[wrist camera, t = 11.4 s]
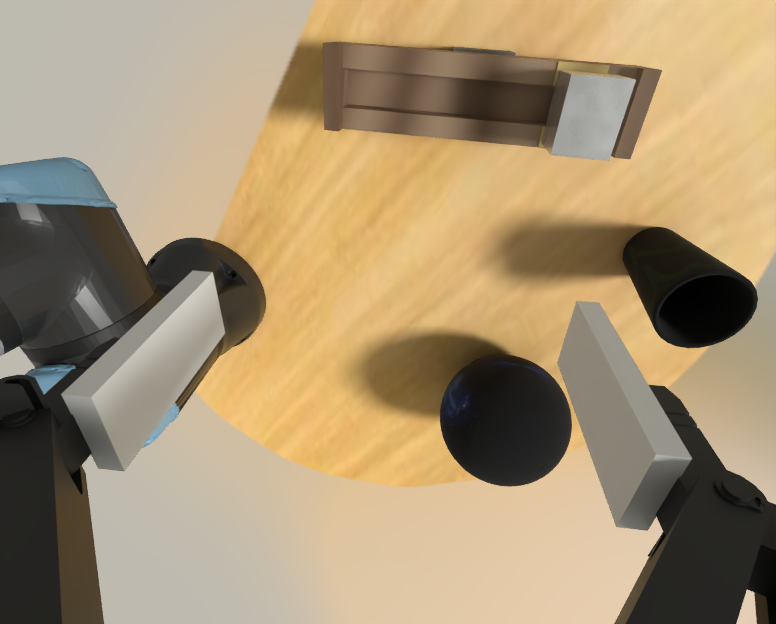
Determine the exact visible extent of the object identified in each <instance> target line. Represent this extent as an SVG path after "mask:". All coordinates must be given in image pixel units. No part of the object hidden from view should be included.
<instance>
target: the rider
mask: <svg viewBox="0 0 776 624" xmlns="http://www.w3.org/2000/svg"><path fill="white" fill-rule="evenodd" d="M635 82H636V79H632V78H628V77H624V76H620V75H616V74H603V73H591V72H579V71H567V70H559V73H558V77H557V81H556V85H555V89H554V92H553V96H552V100H551V104H550V108H549V112H548V116H547V122H546V126H545V130H544V134H543V138H542V142H541V143H542V145H543V146H544V147H545V148H546V150H547V151H548V152H549V154H550V155H556V156H566V157H576V158H587V159H597V160H607V161H609V160H610V157H611V154H612V151H613V148H614V145H615V142H616V139H617V136H618V133H619V130H620V127H621V124H622V121H623V118H624V115H625V112H626V109H627V106H628V103H629V100H630V97H631V94H632V91H633V88H634V85H635Z"/></svg>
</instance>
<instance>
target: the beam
mask: <svg viewBox="0 0 776 624" xmlns="http://www.w3.org/2000/svg"><path fill="white" fill-rule="evenodd" d="M323 70H324V130H331V131H340V130H341V129H353V130H363V131H374V132H384V133H394V134H405V135H415V136H426V137H436V138H447V139H457V140H468V141H478V142H489V143H499V144H510V145H520V146H530V147H538V148H545V147H544V146H543V145H542V143H541V142H542V138H543V134H544V130H545V126H546V122H547V116H548V112H549V108H550V104H551V100H552V96H553V92H554V89H555V85H556V81H557V77H558V73H559V70H567V71H579V72H591V73H603V74H616V75H620V76H624V77H628V78H632V79H636V82H635V85H634V88H633V91H632V94H631V97H630V100H629V103H628V106H627V109H626V112H625V115H624V118H623V121H622V124H621V127H620V130H619V133H618V136H617V139H616V142H615V145H614V148H613V151H612V154H611V156H613V157H614V158H623V159H630V158H631V156H632V153H633V150H634V147H635V144H636V142H637V139H638V136H639V133H640V130H641V128H642V125H643V122H644V119H645V116H646V114H647V111H648V108H649V105H650V103H651V100H652V97H653V94H654V91H655V89H656V86H657V83H658V80H659V77H660V75H661V72H662V70H658V69H653V68H647V67H642V66H636V65H623V64H611V63H598V62H586V61H573V60H561V59H548V58H536V57H523V56H515V53H514V52H511V51H501V50H488V49H476V48H463V47H454V48H453V51H449V50H436V49H424V48H411V47H399V46H386V45H374V44H361V43H349V42H328V43H323Z"/></svg>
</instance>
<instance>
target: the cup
mask: <svg viewBox="0 0 776 624" xmlns="http://www.w3.org/2000/svg"><path fill="white" fill-rule="evenodd" d="M623 262H624V265H625V267H626V269H627V271H628V273H629V276H630V278H631V280H632V282H633V284H634V286H635V288H636V290H637V292H638V295H639V297H640V299H641V301H642V303H643V305H644V307H645V309H646V312H647V314H648V316H649V318H650V320H651V322H652V324H653V326H654V329H655V331H656V332H657V333H658V335H659V336H660V337H661V338H662V339H663V340H665V341H666V342H668V343H670V344H672V345H675V346H678V347H685V348H700V347H705V346H710V345H713V344H716V343H719V342H722V341H724V340H726V339H728V338H730V337H731V336H733V335H735V334H736V333H737V332H738V331H740V330H741V329H742V328H743V327H744V326H745V325H746V324H747V323H748V322H749V320H750V319H751V318H752V316H753V314H754V312H755V310H756V307H757V301H758V297H757V291H756V289H755V287H754V285H753V284H752V282H751V281H749V280H748V279H747V278H746V277H745V276H743V275H741V274H740V273H738V272H737V271H735V270H734V269H732V268H730V267H729V266H727V265H726V264H724V263H722V262H721V261H719V260H718V259H716V258H714V257H713V256H711V255H710V254H708V253H707V252H705V251H703V250H702V249H700V248H699V247H697V246H695V245H694V244H692V243H691V242H689V241H687V240H686V239H684V238H683V237H681V236H680V235H678V234H676V233H675V232H673V231H672V230H669V229H667V228H662V227H654V228H649V229H646V230H643V231H641V232H639V233H637V234H636V235H635V236H633V237H632V238H631V239H630V240H629V242H628V243H627V244H626V246H625V248H624V251H623Z"/></svg>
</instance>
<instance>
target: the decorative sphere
mask: <svg viewBox="0 0 776 624" xmlns="http://www.w3.org/2000/svg"><path fill="white" fill-rule="evenodd" d="M440 424H441V431H442V435H443V438H444V441H445V443H446V445H447V447H448V449H449V451H450V453H451V454H452V456H453V457H454V459H455V460H456V461H457V462H458V463H459V464H460V466H462V467H463V468H464V469H465V470H466V471H467V472H469V473H470V474H471V475H473V476H475V477H476V478H478V479H480V480H482V481H485V482H487V483H491V484H494V485H499V486H520V485H525V484H529V483H532V482H534V481H537V480H538V479H540V478H542V477H544V476H545V475H547V474H548V473H549V472H550V471H552V470H553V469H554V468H555V467H556V465H557V464H558V463H559V462H560V460H561V459H562V457H563V456H564V454H565V452H566V450H567V447H568V444H569V441H570V437H571V430H572V420H571V412H570V408H569V404H568V401H567V399H566V396H565V394H564V392H563V391H562V389H561V387H560V386H559V384H558V383H557V382H556V381H555V379H554V378H553V377H552V376H551V375H550V374H549V373H548V372H546V371H545V370H544V369H543V368H541V367H540V366H538V365H537V364H535V363H533V362H531V361H529V360H526V359H523V358H520V357H516V356H510V355H494V356H488V357H484V358H481V359H478V360H476V361H474V362H472V363H470V364H468V365H467V366H465V367H464V368H463V369H462V370H460V371H459V372H458V373H457V374H456V375H455V377H454V378H453V379H452V380H451V382H450V383H449V385H448V387H447V389H446V391H445V393H444V396H443V399H442V403H441V409H440Z"/></svg>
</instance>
